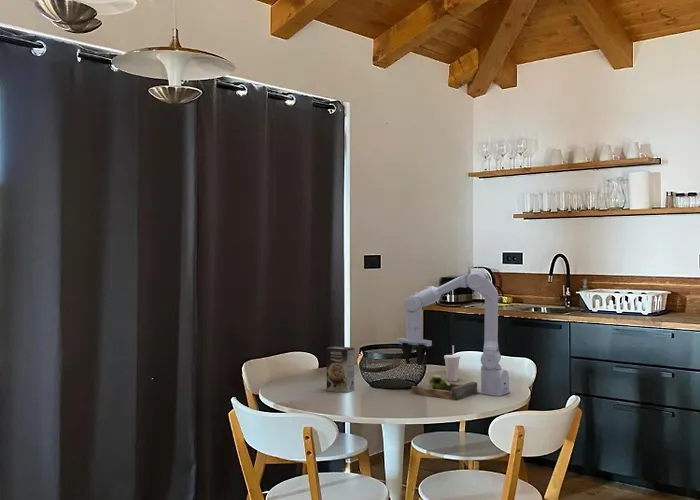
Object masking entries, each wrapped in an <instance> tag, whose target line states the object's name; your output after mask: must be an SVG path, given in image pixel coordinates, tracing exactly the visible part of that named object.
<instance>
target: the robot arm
mask: <svg viewBox="0 0 700 500" xmlns="http://www.w3.org/2000/svg"><path fill="white" fill-rule="evenodd" d="M458 288H465V289H466V288H469V289H471V290H473V291H475V292H478V293H479V295H481V297H482V298H484V330H483V331H484V336H483V338H484V339H483V340H484V341H483V342H484V343H483V352H482V354H481V356H480V364H481V365H480V382H481V383H480V384H481V385H480V388H481V389H480V390H477V394H483V395H488V396H495V397H496V396H497V397H501V396H504V395H507V394H510V393H511V391H510V375H509V372H508V370H506V369H503V368H502V365H501V364H500V361H501V359H502V357H501V353H500V349H499V343H498V342H499V341H498V340H499V337H498V333H499V332H498V331H499V293H498V290H497V288H496V287H495V285H494V284H493V282H492V281H491V279H490V277H489V276H488V275H487V274H486V273H484V272H482V271H474V272H471V273H468V274H464V275H461V276H458V277H455V278H454V279H452V280H450V281H448V282H446V283H444V284H442V285H440V286H438V287H436V286H434V285H431V286H430V285H427V286H426V287H425V289H423V290H421V291H415V292H414V295H409V296H408V297H407V298H405V300H404V303H403V305H404V308H405V335H406V336H405V337H406V338H405V337H398V338H396V344H401V345H400V346H399V347H400V350H401V351H402V353H403V355H404V359H405V363H406V364H407V365H409V364H411V363H410V361H409V356H410V354H411V352H413V347H414V349H415V351H416V363H417V366H422V365H423V362H424V358H425V355H426V352H427V350H428V348H429V347H432V346H433V344H432V343H433V342H432V340H429V339H423V336H422V333H423V331H422V311H421V310H422V308H425V307H428V306H429V305H431V304H434V303H435V302H438V301H439V300H440V298H441V296H442V295H444V294H446V293H449V292H451V291H453V290H455V289H458Z"/></svg>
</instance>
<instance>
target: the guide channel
mask: <svg viewBox="0 0 700 500" xmlns="http://www.w3.org/2000/svg"><path fill="white" fill-rule="evenodd" d="M449 383H450V384H451V385H450V390H451V391H448V390H445V389H444V390H438V389H431V388H429V387H421V386H417V385H416V386H415V385H413V386H411V394H412V395H419V396H426V397H431V398H432V397H433V398H438V399H444V400H451V401H459V400H463V399H465V398H468V397H472V396H474V395H478V393H477V391H478V382H475V381H471V382H467V383H463V384H462V383H461V384H459V383H455V382H454V383H452V382H449Z"/></svg>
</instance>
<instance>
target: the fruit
mask: <svg viewBox="0 0 700 500" xmlns="http://www.w3.org/2000/svg"><path fill="white" fill-rule="evenodd" d="M428 379H429V383H428V387H427V388H431V389H438V390H444V389H445V391H451V390H450V385H451V384H450V383H451V382H450V381H448V379H447V378H445V377H444V376H443V375H441V374H434V375H433V374H432V375H430V376H429V378H428Z"/></svg>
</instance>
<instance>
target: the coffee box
mask: <svg viewBox="0 0 700 500" xmlns="http://www.w3.org/2000/svg"><path fill="white" fill-rule="evenodd" d="M325 351H326V352H325V353H326V359H325V361H326V362H325V363H326V364H325V365H326V367H325V368H326V371H325V372H326V391H327V392H335V393H344V394H346V393H347V394H348V393H351V392H353V391H355V387H356V386H355V385H356V384H355V347H350V346H333V345H332V346H329V347H327V348H325Z"/></svg>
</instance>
